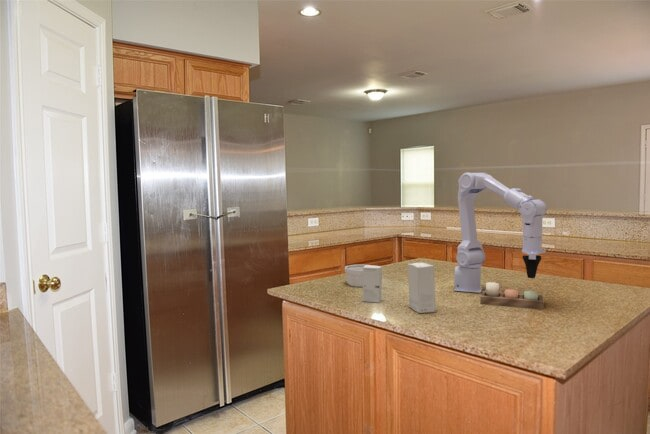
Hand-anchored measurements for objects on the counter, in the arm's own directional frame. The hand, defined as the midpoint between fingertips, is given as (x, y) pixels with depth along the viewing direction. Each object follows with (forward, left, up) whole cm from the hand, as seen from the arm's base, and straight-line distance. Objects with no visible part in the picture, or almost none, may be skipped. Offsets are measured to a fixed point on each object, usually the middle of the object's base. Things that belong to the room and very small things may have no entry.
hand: (531, 277), depth 150 cm
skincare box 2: (-32, -18, -9) cm, 38 cm away
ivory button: (-12, 0, -7) cm, 14 cm away
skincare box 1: (-50, -13, -9) cm, 53 cm away
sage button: (0, 0, -9) cm, 9 cm away
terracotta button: (-6, 0, -9) cm, 11 cm away
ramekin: (-62, +10, -9) cm, 64 cm away
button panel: (-6, 0, -9) cm, 11 cm away
